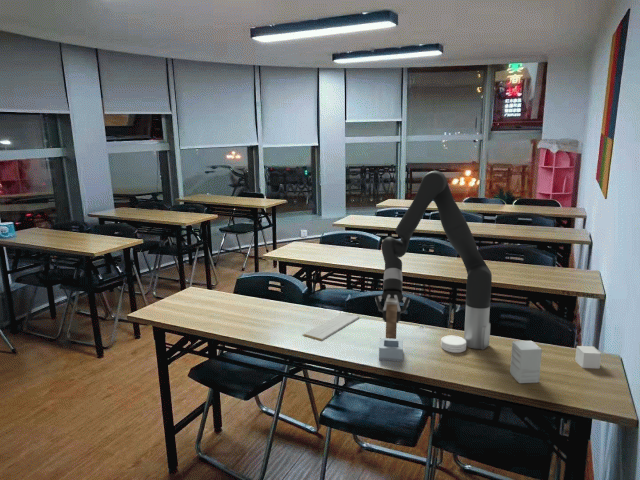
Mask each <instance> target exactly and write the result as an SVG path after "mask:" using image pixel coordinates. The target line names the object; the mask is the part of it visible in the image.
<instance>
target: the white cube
mask: <svg viewBox="0 0 640 480" xmlns="http://www.w3.org/2000/svg"><path fill="white" fill-rule="evenodd" d="M601 359H602V352H600V350H598V349H597V348H596V347H595V346H594V345H593V346H591V345H590V346H589V345H584V346H583V345H576V349H575V359H574V361H575V362H576V364H578V365H579V366H580V367H581V368H582V369H600V367H601V361H602V360H601Z"/></svg>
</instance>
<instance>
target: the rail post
mask: <svg viewBox="0 0 640 480" xmlns="http://www.w3.org/2000/svg"><path fill="white" fill-rule="evenodd" d="M397 301H398V299H397V298H387V299H386V322H385V339H397V325H398V323H397V322H396V321H397Z"/></svg>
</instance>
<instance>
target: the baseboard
mask: <svg viewBox="0 0 640 480" xmlns="http://www.w3.org/2000/svg"><path fill="white" fill-rule="evenodd" d="M347 312H348V313H347ZM354 314H355V313H354V312H352V311H349V310H345V311H344V312H343V310H342V309H341V310H340V312H339V314H337V315H335V316H333V317H331V318H330V319H327V320H326V321H324V322H322V323H321V324H318V325H317V326H315V327H313V328H311V329H310V330H308V331H306V332H304V333H303V334H302V336H304V337H308V338H310V339H311V338H312V339H314V340H318V341H324V340H325V339H327V338H329V337H330V336H332V335H333V334H335V333H337V332H339V331H340V330H343V328H346V327H347V326H348V325H350V324H352V323H353V322H355V321H357V320H359V319H360V315H359V313H358V314H357V313H356V314H355V315H354Z"/></svg>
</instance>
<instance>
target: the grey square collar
mask: <svg viewBox="0 0 640 480" xmlns="http://www.w3.org/2000/svg"><path fill="white" fill-rule="evenodd" d="M378 345H379V347H378V360H379V361H386V362H387V361H390V362H404V359H403V357H404V339H399V338H396V339H389V338H383V337H382V338H380V339H379V344H378Z"/></svg>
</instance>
